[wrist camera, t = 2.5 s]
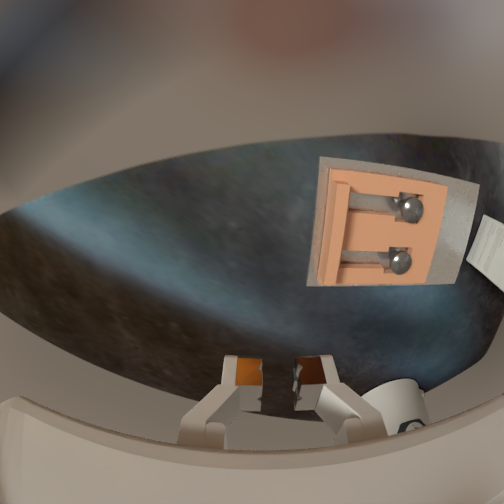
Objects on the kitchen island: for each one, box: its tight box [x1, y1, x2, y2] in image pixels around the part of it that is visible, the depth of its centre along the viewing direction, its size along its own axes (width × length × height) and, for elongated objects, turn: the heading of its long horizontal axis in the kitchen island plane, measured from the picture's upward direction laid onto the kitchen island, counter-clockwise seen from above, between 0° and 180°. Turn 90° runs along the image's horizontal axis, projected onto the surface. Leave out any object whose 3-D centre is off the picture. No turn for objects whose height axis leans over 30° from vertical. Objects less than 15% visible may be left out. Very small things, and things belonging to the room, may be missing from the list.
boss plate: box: [305, 156, 480, 286], centre depth 27 cm, size 14×22×3 cm, turn 89°
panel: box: [317, 168, 448, 285], centre depth 26 cm, size 12×14×3 cm
